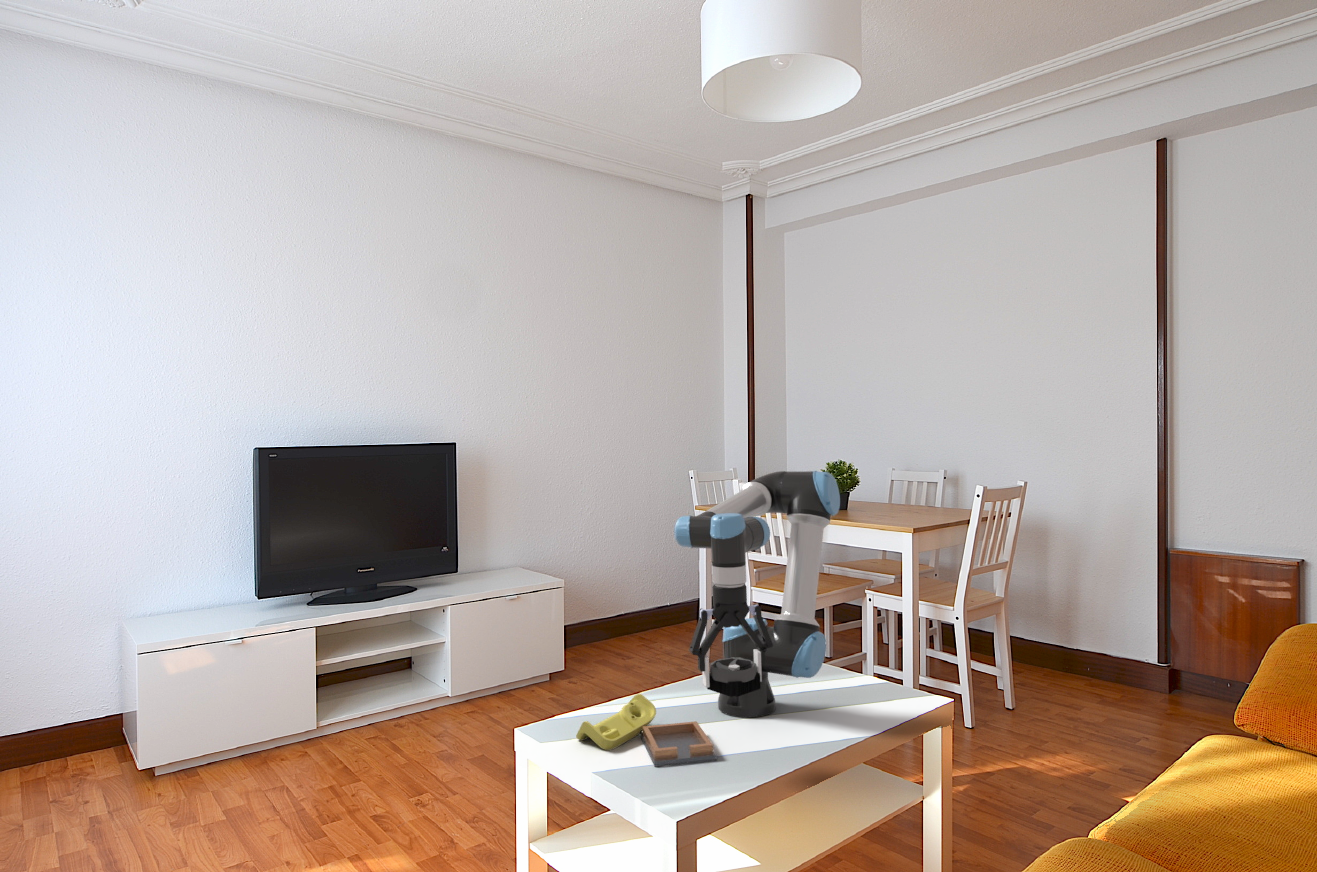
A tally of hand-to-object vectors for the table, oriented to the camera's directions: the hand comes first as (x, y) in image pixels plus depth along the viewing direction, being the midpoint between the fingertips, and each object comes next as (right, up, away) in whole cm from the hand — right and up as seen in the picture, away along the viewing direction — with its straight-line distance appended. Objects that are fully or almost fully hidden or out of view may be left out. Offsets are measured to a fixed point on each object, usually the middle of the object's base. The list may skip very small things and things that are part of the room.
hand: (732, 682), depth 176 cm
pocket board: (-12, -18, +9) cm, 24 cm away
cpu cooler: (0, -1, -1) cm, 2 cm away
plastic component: (-26, -19, +18) cm, 37 cm away
